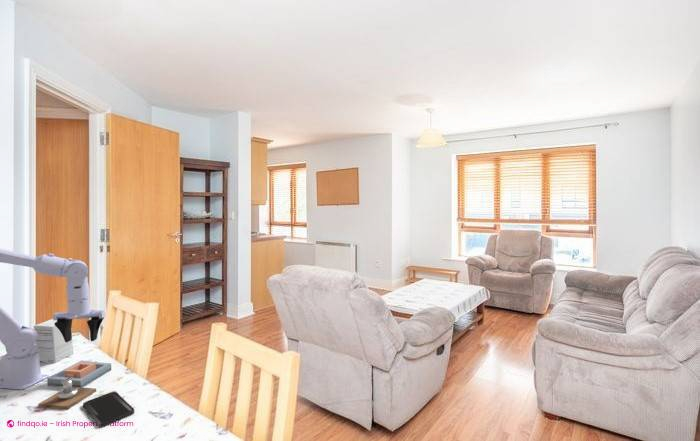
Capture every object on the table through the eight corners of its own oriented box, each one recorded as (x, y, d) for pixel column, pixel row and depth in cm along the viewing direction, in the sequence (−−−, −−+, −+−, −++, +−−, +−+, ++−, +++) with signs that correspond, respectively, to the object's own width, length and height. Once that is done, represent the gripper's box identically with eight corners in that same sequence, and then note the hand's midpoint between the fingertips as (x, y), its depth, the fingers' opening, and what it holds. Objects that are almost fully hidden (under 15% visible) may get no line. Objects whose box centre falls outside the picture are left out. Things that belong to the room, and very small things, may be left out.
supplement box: (55, 352, 132) (53, 318, 131) (74, 353, 131) (71, 318, 130) (35, 362, 125) (32, 325, 124) (54, 363, 124) (52, 326, 123)
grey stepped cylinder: (53, 399, 100) (52, 382, 100) (68, 391, 105) (67, 374, 104) (68, 400, 100) (66, 383, 99) (82, 392, 104) (81, 375, 104)
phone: (114, 390, 105) (135, 410, 95) (115, 394, 105) (135, 414, 95) (81, 403, 99) (99, 425, 89) (81, 407, 99) (100, 429, 89)
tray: (47, 385, 109) (47, 378, 109) (80, 367, 120) (80, 361, 120) (81, 388, 108) (80, 380, 108) (111, 369, 119) (111, 363, 119)
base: (38, 406, 98) (38, 403, 98) (68, 389, 107) (68, 386, 107) (67, 409, 97) (67, 406, 97) (96, 391, 106) (96, 388, 106)
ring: (61, 380, 111) (61, 372, 111) (80, 370, 117) (80, 362, 117) (77, 381, 110) (77, 373, 110) (96, 371, 116) (95, 363, 116)
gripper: (44, 303, 113) (47, 346, 114) (95, 301, 115) (98, 344, 116) (60, 297, 120) (63, 338, 121) (107, 295, 122) (110, 335, 123)
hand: (81, 340), depth 119 cm, fingers open, 7 cm apart
